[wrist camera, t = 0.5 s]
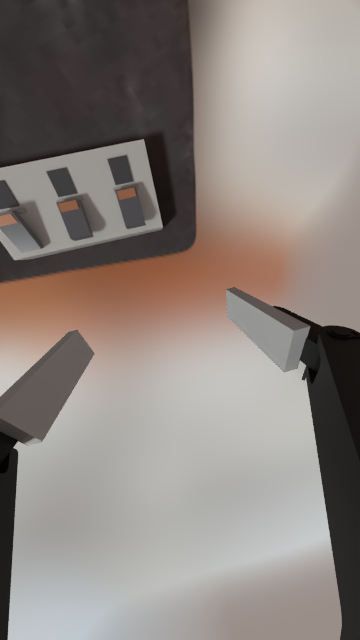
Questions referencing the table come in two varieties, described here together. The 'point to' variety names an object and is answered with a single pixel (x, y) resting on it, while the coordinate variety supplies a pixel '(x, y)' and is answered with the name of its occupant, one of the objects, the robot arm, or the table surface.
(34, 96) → the table surface
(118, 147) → the power strip
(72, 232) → the rocker
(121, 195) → the rocker
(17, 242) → the rocker
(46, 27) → the table surface
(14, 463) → the robot arm
